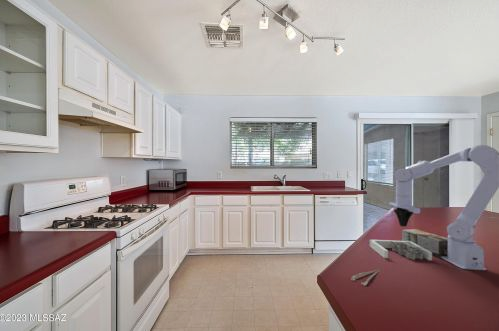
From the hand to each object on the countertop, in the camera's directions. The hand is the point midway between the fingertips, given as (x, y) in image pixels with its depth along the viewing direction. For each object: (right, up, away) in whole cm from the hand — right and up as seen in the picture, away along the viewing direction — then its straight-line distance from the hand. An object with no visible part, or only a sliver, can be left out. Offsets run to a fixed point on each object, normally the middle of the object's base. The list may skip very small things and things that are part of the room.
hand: (403, 226), depth 94 cm
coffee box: (+7, -6, +6) cm, 11 cm away
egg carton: (-4, -10, -7) cm, 13 cm away
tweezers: (-28, -10, -24) cm, 39 cm away
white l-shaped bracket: (-7, -9, -7) cm, 13 cm away
